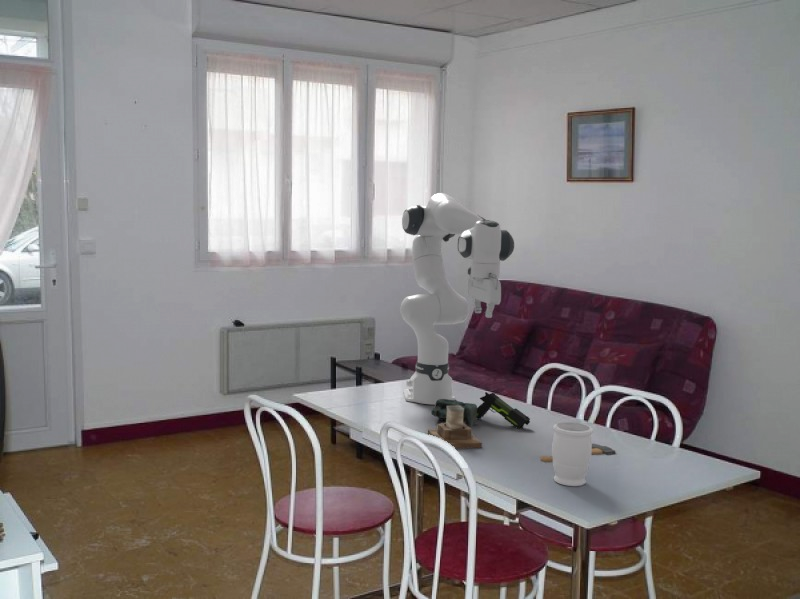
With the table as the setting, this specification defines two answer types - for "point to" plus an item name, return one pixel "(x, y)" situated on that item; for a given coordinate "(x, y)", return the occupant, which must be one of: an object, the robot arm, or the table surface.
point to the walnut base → (459, 442)
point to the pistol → (502, 410)
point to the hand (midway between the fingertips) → (483, 315)
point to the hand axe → (595, 450)
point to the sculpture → (442, 404)
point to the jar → (571, 452)
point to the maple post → (454, 417)
